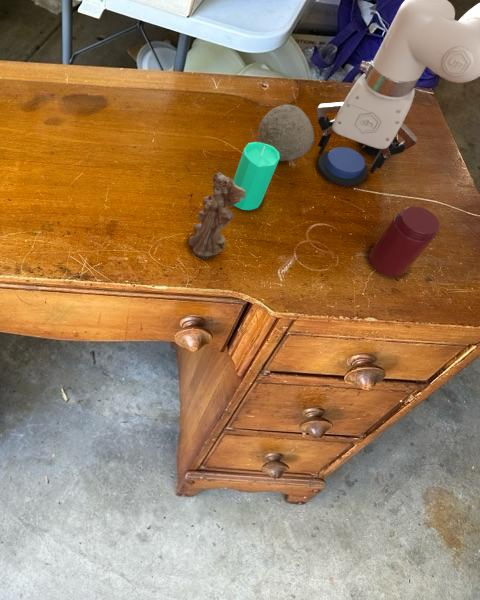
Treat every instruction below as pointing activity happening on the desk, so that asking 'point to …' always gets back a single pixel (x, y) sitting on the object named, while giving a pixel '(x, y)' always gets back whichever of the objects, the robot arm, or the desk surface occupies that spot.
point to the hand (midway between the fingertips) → (346, 159)
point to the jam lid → (344, 162)
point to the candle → (255, 173)
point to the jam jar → (404, 241)
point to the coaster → (337, 179)
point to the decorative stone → (287, 131)
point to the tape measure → (371, 149)
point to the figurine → (215, 216)
